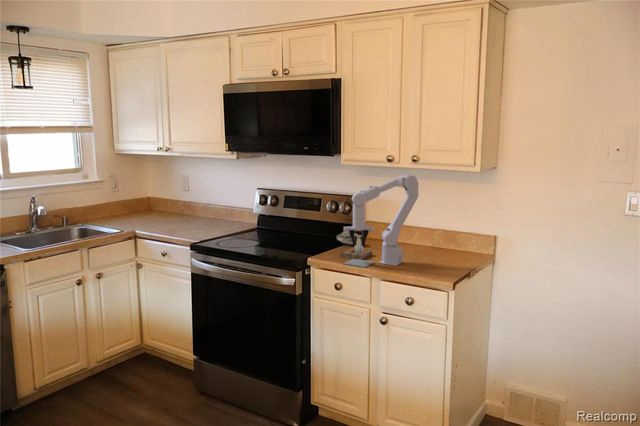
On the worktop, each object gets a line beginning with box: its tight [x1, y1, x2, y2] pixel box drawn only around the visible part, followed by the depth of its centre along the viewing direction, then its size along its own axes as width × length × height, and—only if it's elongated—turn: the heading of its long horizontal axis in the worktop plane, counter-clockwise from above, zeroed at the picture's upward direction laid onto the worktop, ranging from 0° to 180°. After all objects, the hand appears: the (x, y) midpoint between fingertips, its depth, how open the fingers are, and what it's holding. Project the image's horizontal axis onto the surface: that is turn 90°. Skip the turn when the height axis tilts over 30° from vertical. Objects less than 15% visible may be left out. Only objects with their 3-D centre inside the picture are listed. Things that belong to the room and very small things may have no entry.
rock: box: [335, 230, 359, 246], centre depth 288 cm, size 18×10×10 cm
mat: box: [342, 259, 375, 268], centre depth 247 cm, size 12×10×1 cm
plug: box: [354, 234, 364, 253], centre depth 246 cm, size 4×4×8 cm
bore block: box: [339, 247, 373, 260], centre depth 261 cm, size 12×12×2 cm
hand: (358, 245), depth 246 cm, fingers closed on plug, 4 cm apart
